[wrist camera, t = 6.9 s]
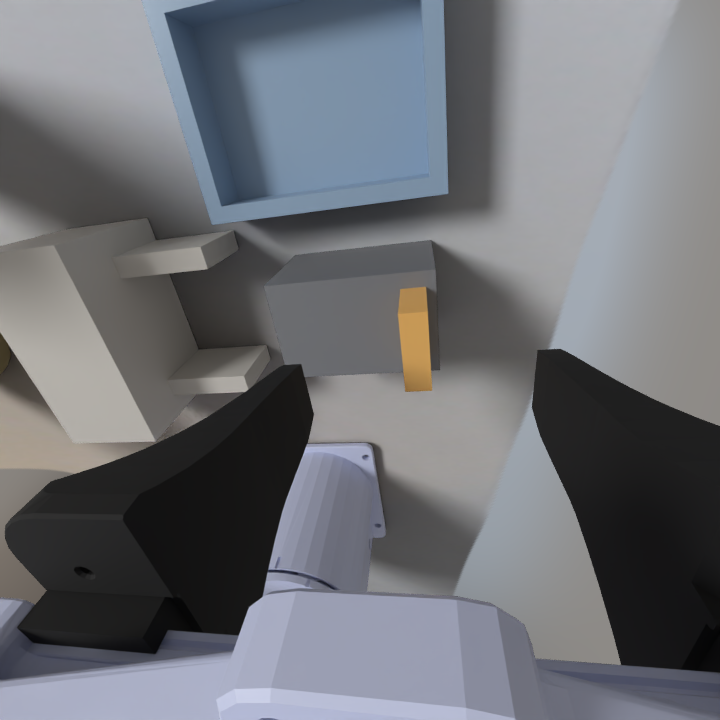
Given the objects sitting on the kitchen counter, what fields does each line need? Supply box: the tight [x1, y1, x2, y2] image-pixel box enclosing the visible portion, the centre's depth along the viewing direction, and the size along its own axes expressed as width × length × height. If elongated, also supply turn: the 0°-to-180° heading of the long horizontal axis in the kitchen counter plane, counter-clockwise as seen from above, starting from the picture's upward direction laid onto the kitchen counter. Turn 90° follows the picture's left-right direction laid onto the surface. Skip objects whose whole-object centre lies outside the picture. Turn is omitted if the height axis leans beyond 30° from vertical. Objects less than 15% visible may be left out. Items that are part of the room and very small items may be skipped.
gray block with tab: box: [264, 240, 440, 392], centre depth 17 cm, size 7×4×8 cm, turn 98°
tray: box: [141, 0, 448, 225], centre depth 15 cm, size 8×10×2 cm
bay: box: [0, 218, 271, 443], centre depth 20 cm, size 10×10×6 cm
